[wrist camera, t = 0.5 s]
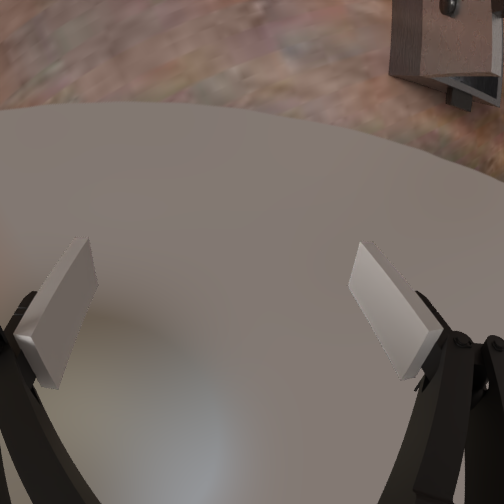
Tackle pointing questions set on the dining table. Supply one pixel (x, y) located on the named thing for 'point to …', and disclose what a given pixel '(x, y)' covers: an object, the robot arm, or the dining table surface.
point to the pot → (409, 58)
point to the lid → (461, 38)
